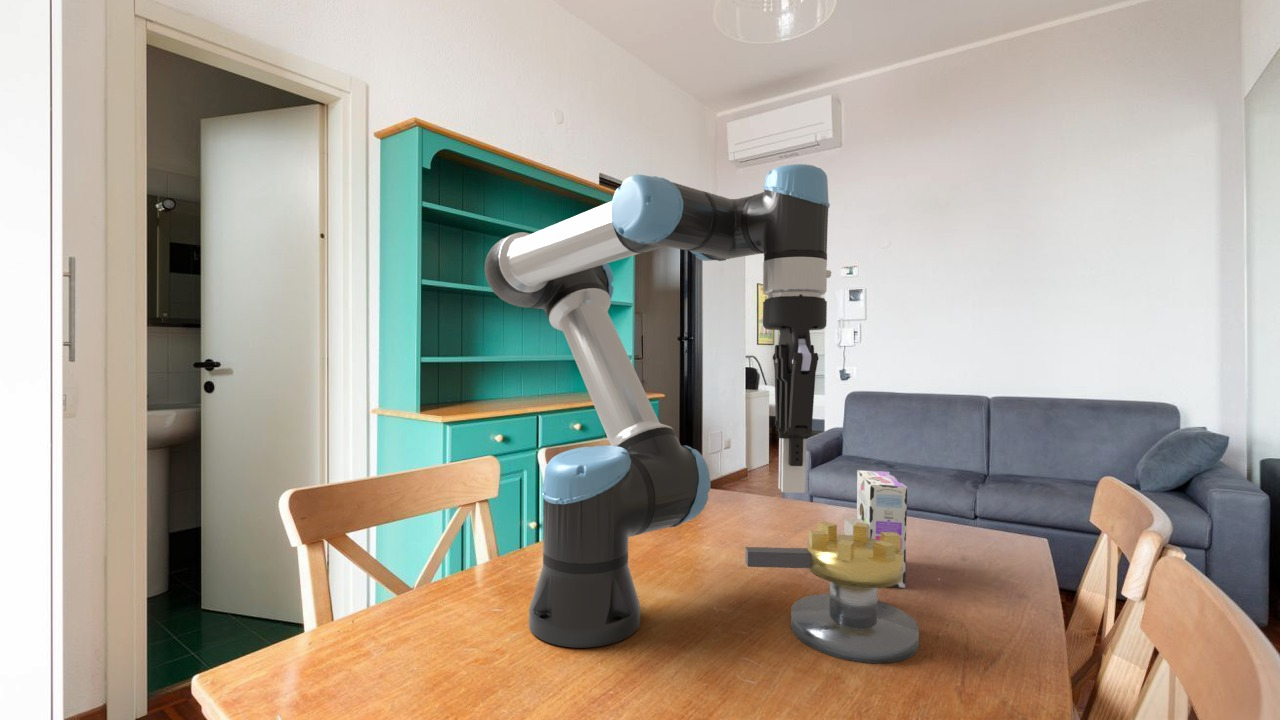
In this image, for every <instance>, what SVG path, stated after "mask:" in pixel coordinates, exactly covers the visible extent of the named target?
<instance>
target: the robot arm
mask: <svg viewBox="0 0 1280 720" xmlns="http://www.w3.org/2000/svg"><path fill="white" fill-rule="evenodd" d="M828 183H829V181H828V175H827V174H826V172H825V171H824V170H823V169H822V168H820V167H818V166H815V165H813V164H812V165H811V164H806V163H805V164H804V163H799V164H798V163H797V164H787V165H782V166H777V167H775V168H774V169H773V170H770V171H769V172H768V173H767V174H766V176H765V180H764V186H763V191H762V192H760V193H757V194H753V195H749V196H745V197H744V196H743V197H740V198H728V197H724V196H722V195H718V194H714V193H711V192H708V191H704V190H700V189H697V188H693V187H689V186H686V185H684V184H679V183H676V182H674V181H670V180H668V179H666V178H665V177H659V176H653V175H651V176H650V175H646V174H633V175H631V176H628V177H627V178H625V179H624V180H623V181H622V183H621V185H620V186H619V187H617V188H616V189H615V191H614V194H613V197H612V200H611V201H608V202H605V203H602V204H601V205H599V206H596V207H593V208H591V209H589V210H586V211H583V212H581V213H579V214H577V215H574V216H572V217H570V218H567V219H564V220H562V221H559V222H558V223H554V224H552V225H549V226H547V227H545V228H543V229H539V230H537V231H535V232H533V233H530V232H529V233H528V232H522V231H521V232H515V233H513V234H510V235H508V236H506V237H504V238H502V239H500V240H499V241H497V242H496V243H495V244H494V245H493V246H492V247H491V248H490V250H489V252H488V253H487V256H486V258H485V262H484V275H485V278H486V281H487V284H488V285H489V288H490V289H491V290H492V292H493V293H494V294H495V295H496V296H497V297H498V298H499V299H501V300H502V301H504V302H505V303H507V304H509V305H512V306H516V307H520V308H527V309H529V308H530V309H542V310H544V312H545V314H546V316H547V319H548V321H549V323H550V325H551V327H552V328H554V329H556V330H558V331H561V332H562V333H563V335H564V336H565V339H566V342H567V345H568V347H569V348H570V351H571V354H572V356H573V359H574V361H575V363H576V366H577V369H578V370H579V373H580V375H581V377H582V378H581V379H582V380H583V382H584V385H585V387H586V390H587V392H588V395H589V396H590V397H589V398H590V400H591V402H592V404H593V407H594V409H595V411H596V414H597V416H598V418H599V421H600V424H601V425H602V428H603V430H604V432H605V435H606V438H607V440H608V442H609V444H610V445H607V444H606V445H602V444H601V445H600V444H599V445H595V446H582V447H576V448H572V449H568V450H566V451H562V452H560V453H558V454H556V455H555V456H553V457H552V458H551V459H550V460H549V461H548V463H547V464H546V465H545V469H544V478H543V485H542V486H543V487H542V490H541V493H542V498H543V514H542V515H543V516H542V517H543V519H542V520H543V521H542V522H543V525H542V530H543V531H542V532H543V533H542V535H543V536H542V539H543V541H542V567H541V572H540V573H539V574H540V575H539V577H538V580H537V582H536V586H535V589H534V592H533V594H532V598H531V602H530V604H529V609H528V610H529V611H528V627H529V631H530V632H531V633H532V634H533V635H534V636H535V637H536V638H538V639H540V640H542V641H543V642H546V643H549V644H551V645H554V646H555V645H556V646H559V647H564V648H565V647H567V648H575V649H576V648H577V649H579V648H580V649H581V648H597V647H602V646H607V645H612V644H615V643H618V642H620V641H624V640H625V639H627V638H629V637H630V636H632V635H634V633H635V632H636V631H637V630H638V628H639V627H640V625H641V603H640V600H639V596H638V594H637V590H636V587H635V583H634V580H633V577H632V574H631V570H630V567H629V538H631V537H634V536H638V535H639V536H640V535H642V534H646V533H651V532H654V531H658V530H662V529H667V528H676V527H679V526H680V525H681V524H684V523H687V522H690V521H692V520H694V519H695V518H697V517H698V516H699V515H700V514H701V513H702V512H703V510H704V508H705V507H706V505H707V502H708V500H709V493H710V492H711V475H710V474H711V473H710V470H709V466H708V464H707V462H706V460H705V458H704V456H703V455H702V454H701V452H699V450H697V449H695V448H692V447H691V446H689V445H681V443H680V440H679V439H678V436H677V435H676V432H675V430H674V428H673V427H671V426H670V425H667V424H663V423H661V422H660V421H659V418H658V416H657V414H656V412H655V411H654V408H653V406H652V404H651V402H650V400H649V398H648V395H647V393H646V391H645V389H644V387H643V384H642V383H641V381H640V378H639V376H638V374H637V371H636V370H635V367H634V365H633V364H632V361H631V358H630V357H629V355H628V353H627V350H626V348H625V346H624V344H623V342H622V340H621V337H620V335H619V333H618V331H617V328H616V327H615V325H614V323H613V321H612V318H611V316H610V314H609V309H610V307H611V304H612V297H613V294H614V285H612V283H613V282H614V275H613V272H612V268H611V267H610V266H611V265H609V263H612V262H616V261H620V260H623V259H626V258H629V257H632V256H636V255H640V254H644V253H648V252H651V251H654V250H658V249H662V248H673V249H677V250H681V251H682V250H684V251H689V252H690V253H691V254H693V255H694V256H695V257H696V258H697V260H700V261H704V262H709V261H710V262H711V261H718V262H723V261H726V260H731V259H735V258H741V257H748V256H755V255H760V254H763V262H762V273H763V276H762V282H763V283H762V293H763V294H764V295H765V296H767V298H765V299H764V301H763V302H762V303H763V304H762V326H763V328H764V329H766V330H770V331H779V335H778V336H779V340H778V344H775V345H774V353H773V355H772V360H773V368H774V369H773V370H774V398H775V399H774V400H775V402H774V404H775V422H774V424H775V427H776V428H777V431H778V439H779V440H778V486H777V487H778V490H780V491H781V493H791V494H792V493H793V494H795V493H796V494H799V493H800V494H805V493H806V469H807V467H806V465H807V464H806V462H807V438H808V436H811V435H812V432H813V416H814V400H815V399H814V398H815V385H816V372H817V368H818V361H819V359H820V357H819V355H818V353H817V352H815V347H814V344H812V343H811V342H812V340H811V333H810V331H820V330H824V329H825V328H826V327H827V313H828V312H827V310H828V309H827V307H828V306H827V305H828V301H827V300H826V298H824V297H822V295H825V294H826V293H827V287H828V286H827V282H828V281H827V279H829V278H831V276H832V271H831V270H829V269H827V267H828V227H829V224H828V223H829V208H830V205H831V204H830V202H829V186H828Z"/></svg>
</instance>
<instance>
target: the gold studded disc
mask: <svg viewBox="0 0 1280 720" xmlns="http://www.w3.org/2000/svg"><path fill="white" fill-rule="evenodd" d="M837 528H838V526H837V524H835V523H832V522H828V521H821V522H817V530H812V529H811V530H810V529H809V530H808V541H807V543H806V545H807V547H806V548H801V547H768V546H767V547H763V546H762V547H761V546H759V547H758V546H757V547H756V546H755V547H754V546H745V559H744V560H745V561H744V563H745V564H746V566H747V567H748V568H778V569H779V568H784V569H808V571H809V572H810V573H811V574H813V575H814V576H816V577H818V578H821V579H822V580H825V581H827V582H829V583H830V582H834V583H837V584H841V585H846V586H853V587H861V588H878V589H881V588H889V587H890V588H891V586H894V585H896V584H899V583H900V582H901V581H902V579H903V553H902V551H901V550H900V546H901V536H900V535H899V534H897V533H896V532H881V541H880V540H876V539H872V538H869V524H866V523H859V522H857V523H856V524H855V525H854V536H853V535H844V534H837V533H838V532H837Z"/></svg>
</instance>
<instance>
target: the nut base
mask: <svg viewBox="0 0 1280 720" xmlns="http://www.w3.org/2000/svg"><path fill="white" fill-rule="evenodd" d="M857 522H859V523H865V522H864V521H863V520H862V519H857V518H844V525H843V526H844V528H843V529H844V531H843V532H844V534H843V535H853V536H854V525H855V524H856V523H857ZM866 524H867V523H866ZM869 538H870V526H869ZM878 589H879V588H861V587H853V586H846V585H841V584H837V583H834V582H830V581H829V593H818V594H813V595H808V596H804V597H802V598H800V599H798V600H796V601H795V602H794V603H793V604H792V605H791V610H790V628H791V630H792V632H793V634H794V635H795V637H796V638H797V639H798V640H799V641H800V642H802V643H803V644H805V645H806V646H809V647H810V648H812V649H813V650H816V651H818V652H820V653H822V654H826V655H829V656H830V657H834V658H836V659H841V660H844V661H845V660H846V661H850V662H856V663H865V664H890V663H898V662H901V661H905V660H908V659H910V658H911V657H913V656H914V655H915V654H916V653H917V652H918V650H919V643H920V629H919V625H918V622H917V621H916V620H915V619H914V618H913V617H912V616H911V615H909V614H908V613H906V611H903V610H902V609H900V608H898V607H896V606H893V605H892V604H889V603H887V602H883V601H881V600H878V591H879V590H878Z"/></svg>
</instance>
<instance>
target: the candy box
mask: <svg viewBox="0 0 1280 720" xmlns="http://www.w3.org/2000/svg"><path fill="white" fill-rule="evenodd" d="M907 508H908V486H906V485H905V484H904V483H902V482H901V481H900V480H899V479H897V477H895V476H894V475H893V474H892V473H891V472H890V471H883V470H882V471H880V470H879V471H878V470H856V519H862V520H863V521H864V522H865V523H867V524H869V526H870V538H872V539H876V540H880V541H881V532H896V533H897V534H899V535H900V536H901V546H900V550H901V551H902V553H903V579H902V581H901V582H900V583H899V584H896V585H894V586H890V588H891V587H892V588H902V589H903V588H906V563H907V561H906V560H907V559H906V555H907V552H906V551H907V547H906V546H907V541H906V540H907V519H908V518H907V513H908V512H907V511H908V510H907Z"/></svg>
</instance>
